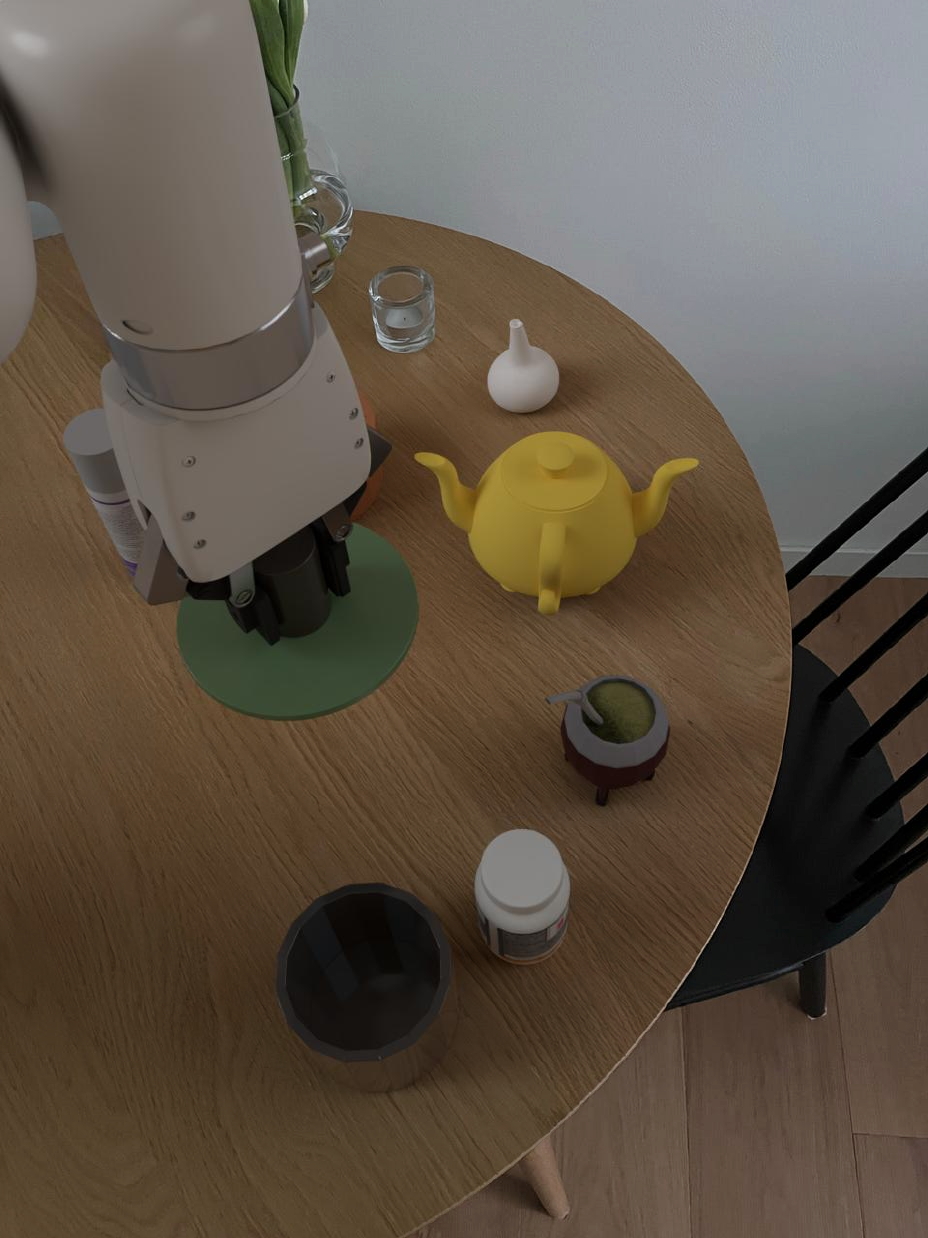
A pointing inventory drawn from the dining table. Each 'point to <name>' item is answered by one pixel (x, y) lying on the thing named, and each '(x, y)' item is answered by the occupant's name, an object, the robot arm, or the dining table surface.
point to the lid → (306, 632)
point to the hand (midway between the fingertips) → (294, 599)
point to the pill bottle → (522, 897)
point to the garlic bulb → (522, 374)
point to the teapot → (553, 514)
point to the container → (105, 482)
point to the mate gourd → (613, 732)
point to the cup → (369, 986)
